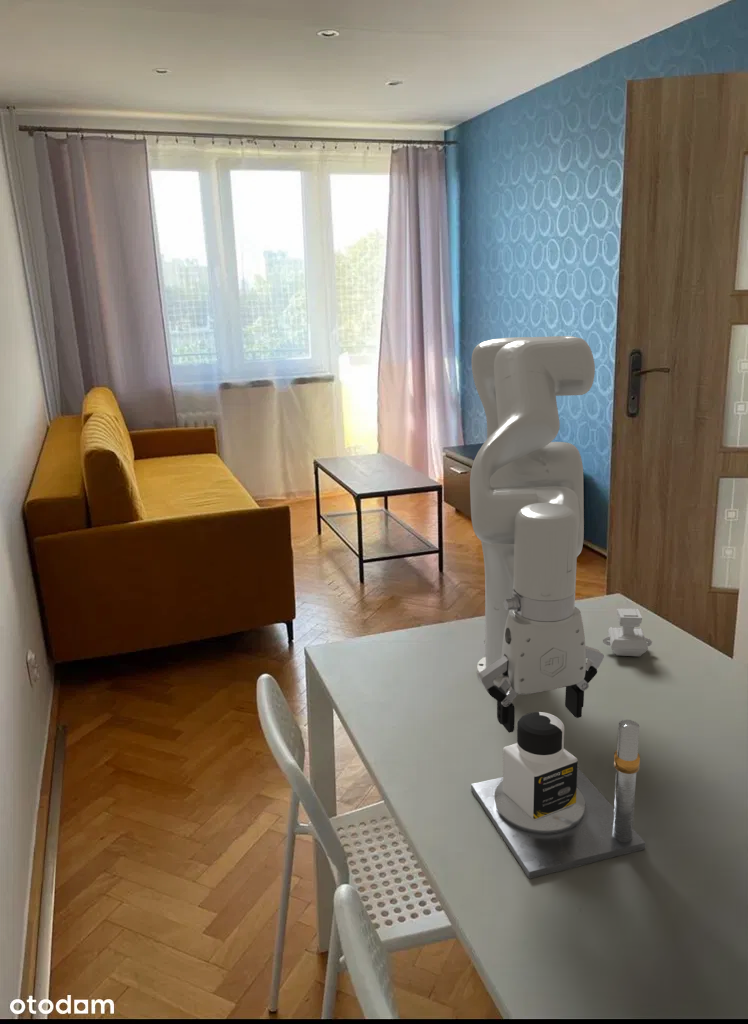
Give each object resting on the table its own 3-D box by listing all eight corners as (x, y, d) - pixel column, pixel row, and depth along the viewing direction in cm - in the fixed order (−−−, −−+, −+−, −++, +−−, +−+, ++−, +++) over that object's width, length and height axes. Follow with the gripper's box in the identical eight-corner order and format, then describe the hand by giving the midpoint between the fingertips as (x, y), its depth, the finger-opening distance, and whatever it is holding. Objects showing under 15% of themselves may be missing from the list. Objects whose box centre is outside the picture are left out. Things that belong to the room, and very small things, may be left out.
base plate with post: (471, 789, 110) (470, 682, 106) (572, 767, 114) (576, 663, 110) (528, 878, 94) (531, 756, 89) (644, 849, 98) (653, 730, 93)
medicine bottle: (533, 822, 101) (535, 741, 97) (501, 791, 107) (502, 714, 104) (577, 804, 104) (580, 725, 100) (543, 776, 110) (545, 700, 106)
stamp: (648, 645, 151) (651, 605, 148) (654, 661, 144) (657, 619, 142) (600, 643, 152) (602, 603, 150) (604, 659, 146) (606, 618, 144)
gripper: (492, 626, 92) (491, 749, 97) (621, 603, 96) (613, 722, 101) (467, 600, 98) (468, 716, 104) (589, 580, 103) (584, 692, 108)
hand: (540, 719), depth 103 cm, fingers open, 9 cm apart
